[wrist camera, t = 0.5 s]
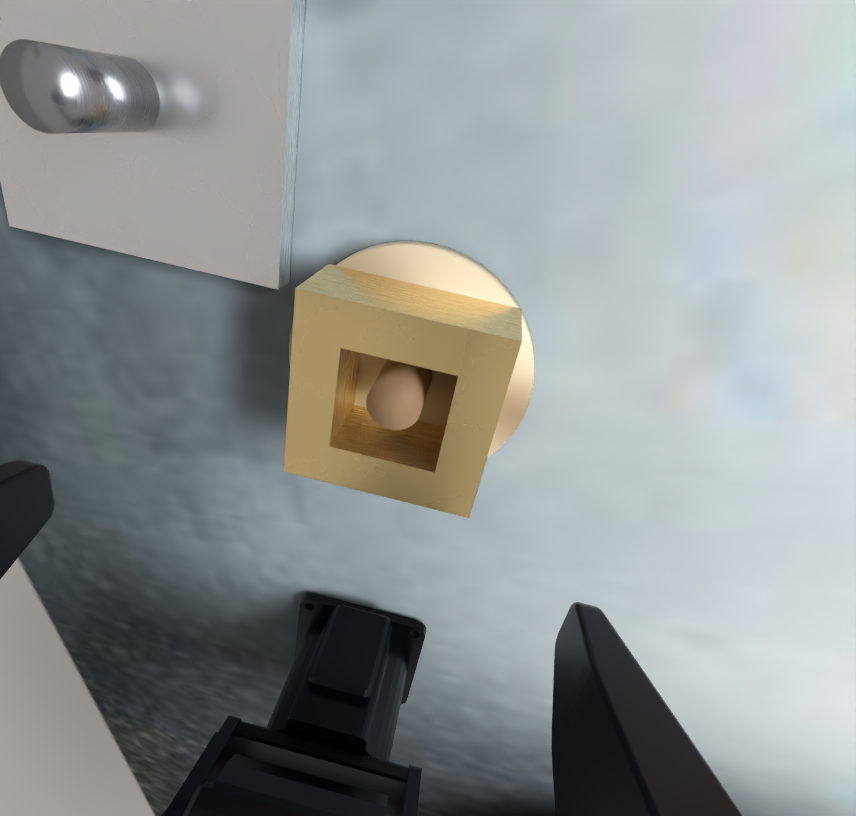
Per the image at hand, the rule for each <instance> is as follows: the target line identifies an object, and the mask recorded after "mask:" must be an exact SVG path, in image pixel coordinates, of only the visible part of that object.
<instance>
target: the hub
mask: <svg viewBox="0 0 856 816" xmlns="http://www.w3.org/2000/svg"><path fill="white" fill-rule="evenodd" d="M304 16H305V0H0V182H1V187H2V192H3V197H4V202H5V207H6V211H7V216H8V221H9V226H11V227H15V228H19V229H24V230H28V231H32V232H36V233H41V234H45V235H49V236H53V237H58V238H62V239H66V240H70V241H74V242H79V243H83V244H87V245H91V246H96V247H100V248H104V249H108V250H113V251H117V252H121V253H125V254H129V255H134V256H138V257H142V258H146V259H151V260H155V261H159V262H163V263H168V264H172V265H176V266H180V267H185V268H189V269H193V270H197V271H201V272H206V273H210V274H214V275H218V276H223V277H227V278H231V279H235V280H240V281H244V282H248V283H252V284H256V285H261V286H265V287H269V288H273V289H278V290H279V289H280V288H281V287H283V286H284V285H286V284H287V283H289V279H290V261H291V244H292V226H293V209H294V191H295V174H296V156H297V139H298V121H299V104H300V86H301V69H302V51H303V34H304Z"/></svg>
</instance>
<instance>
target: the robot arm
mask: <svg viewBox="0 0 856 816" xmlns="http://www.w3.org/2000/svg"><path fill="white" fill-rule="evenodd" d="M54 506H55V501H54V495H53V490H52V484H51V478H50V473H49V470H48V469H47V468H46V467H45V466H43V465H41V464H37V463H33V462H29V461H25V460H17V461H12V462H9V463H5V464H1V465H0V579H1V577H2V576H3V575H4V574H5V573H6V572H7V570H8V569H9V568H10V567H11V565H12V564H13V563H14V562H15V560H16V559H17V558H18V557H19V555H20V554H21V553H22V552H23V551H24V549H25V548H26V547H27V546H28V544H29V543H30V542H31V541H32V539H33V538H34V537H35V536H36V534H37V533H38V532H39V531H40V530H41V528H42V527H43V526H44V525H45V523H46V522H47V521H48V520H49V518H50V517H51V515H52V513H53V510H54ZM425 634H426V627H425V625H424V624H422V623H421V622H418V621H414V620H411V619H407V618H403V617H399V616H395V615H391V614H388V613H384V612H380V611H376V610H372V609H368V608H365V607H361V606H357V605H353V604H349V603H346V602H342V601H338V600H334V599H330V598H326V597H323V596H319V595H315V594H306V595H304V597H303V599H302V601H301V604H300V611H299V621H298V631H297V641H296V652H295V661H294V663H293V666H292V668H291V671H290V673H289V675H288V678H287V680H286V682H285V685H284V687H283V690H282V692H281V694H280V697H279V699H278V701H277V704H276V706H275V709H274V711H273V713H272V716H271V718H270V720H269V723H268V725H267V728H265V727H261V726H257V725H254V724H250V723H246V722H243V721H241V718H237V717H234V716H228V718H227V719H226V721H225V723H224V724H223V726H222V727H221V729H220V731H219V732H216V733H215V734H214V736H213V737H212V739H211V740H210V742H209V744H208V745H207V747H206V748H205V750H204V752H203V753H202V755H201V756H200V758H199V760H198V761H197V763H196V764H195V766H194V767H193V769H192V771H191V772H190V774H189V775H188V777H187V779H186V780H185V782H184V783H183V785H182V787H181V788H180V790H179V791H178V793H177V794H176V796H175V798H174V799H173V801H172V802H171V804H170V805H169V807H168V808H167V809H166V810H165V812H164V813H163V814H162V815H161V816H417V807H418V798H419V789H420V780H421V771H422V768H420V767H416V766H413V765H409V767H407V766H403V765H400V764H396V763H392V762H389V758H390V753H391V748H392V743H393V739H394V734H395V729H396V724H397V719H398V714H399V709H400V705H401V704H403V703H405V702H406V701H407V698H408V694H409V691H410V687H411V684H412V680H413V677H414V673H415V670H416V666H417V663H418V659H419V656H420V652H421V649H422V645H423V642H424V638H425ZM552 765H553V779H554V793H555V808H556V816H743V815H742V813H741V812H740V810H739V809H738V807H737V806H736V804H735V803H734V802H733V800H732V799H731V797H730V796H729V794H728V793H727V791H726V790H725V789H724V787H723V786H722V784H721V783H720V781H719V780H718V778H717V777H716V775H715V774H714V773H713V771H712V770H711V768H710V767H709V765H708V764H707V762H706V761H705V760H704V758H703V757H702V755H701V754H700V752H699V751H698V749H697V748H696V746H695V745H694V744H693V742H692V741H691V739H690V738H689V736H688V735H687V733H686V732H685V730H684V729H683V728H682V726H681V725H680V723H679V722H678V720H677V719H676V717H675V716H674V715H673V713H672V712H671V710H670V709H669V707H668V706H667V704H666V703H665V701H664V700H663V699H662V697H661V696H660V694H659V693H658V691H657V690H656V688H655V687H654V686H653V684H652V683H651V681H650V680H649V678H648V677H647V675H646V674H645V672H644V671H643V670H642V668H641V667H640V665H639V664H638V662H637V661H636V659H635V658H634V656H633V655H632V654H631V652H630V651H629V649H628V648H627V646H626V645H625V643H624V642H623V641H622V639H621V638H620V636H619V635H618V633H617V632H616V630H615V629H614V627H613V626H612V625H611V623H610V622H609V620H608V619H607V617H606V616H605V614H604V613H603V612H602V611H601V610H600V609H599V608H598V607H595V606H591V605H587V604H583V603H579V602H576V603H574V604H573V605H572V606H571V607H570V609H569V611H568V614H567V616H566V618H565V620H564V622H563V624H562V627H561V629H560V631H559V633H558V636H557V639H556V644H555V659H554V687H553V714H552Z"/></svg>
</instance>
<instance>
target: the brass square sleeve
mask: <svg viewBox="0 0 856 816" xmlns="http://www.w3.org/2000/svg"><path fill="white" fill-rule="evenodd" d="M521 343H522V309H521V308H516V307H512V306H508V305H503V304H499V303H495V302H490V301H486V300H482V299H478V298H473V297H469V296H465V295H460V294H456V293H452V292H448V291H443V290H439V289H435V288H430V287H426V286H422V285H418V284H413V283H409V282H405V281H400V280H396V279H392V278H387V277H383V276H379V275H375V274H370V273H366V272H362V271H357V270H353V269H349V268H345V267H340V266H336V265H332V264H328V265H326V266H325V267H324V268H322V269H321V270H319V271H318V272H317V273H315V274H314V275H313V276H311V277H310V278H308V279H307V280H306V281H304V282H303V283H302V284H300V285H299V286H297V287H296V288H295V301H294V317H293V333H292V349H291V364H290V380H289V396H288V412H287V427H286V443H285V459H284V472H288V473H292V474H296V475H300V476H304V477H308V478H312V479H316V480H320V481H324V482H328V483H332V484H336V485H340V486H344V487H348V488H352V489H356V490H360V491H364V492H368V493H372V494H376V495H380V496H384V497H388V498H392V499H396V500H400V501H404V502H408V503H412V504H416V505H420V506H424V507H428V508H431V509H435V510H439V511H443V512H447V513H451V514H455V515H459V516H463V517H467V518H469V517H470V513H471V510H472V507H473V503H474V500H475V496H476V493H477V490H478V486H479V483H480V480H481V476H482V473H483V470H484V466H485V463H486V460H487V456H488V453H489V450H490V446H491V443H492V440H493V436H494V433H495V430H496V426H497V423H498V420H499V416H500V413H501V410H502V406H503V403H504V400H505V396H506V393H507V390H508V386H509V383H510V380H511V376H512V373H513V369H514V366H515V363H516V359H517V356H518V353H519V349H520V346H521ZM361 353H364V354H368V355H372V356H377V357H381V358H385V359H389V360H393V361H397V362H402V363H406V364H410V365H414V366H418V367H422V368H427V369H431V370H435V371H439V372H443V373H447V374H452V375H456V376H458V379H457V383H456V387H455V392H454V396H453V400H452V404H451V408H450V412H449V416H448V420H447V425H446V427H444V426H440V425H436V424H432V423H428V422H424V421H420V420H417V421H416V422H415V423H414V424H413V425H412V426H410V427H408V428H406V429H402V430H391V429H387V428H384V427H382V426H380V425H379V424H377V423H376V422H375V421H374V420H373V419H372V418H371V416H370V415H369V413H368V410H367V408H366V407H362V406H358V405H354V403H355V395H356V388H357V381H358V373H359V366H360V359H361Z"/></svg>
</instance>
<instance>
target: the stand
mask: <svg viewBox="0 0 856 816" xmlns="http://www.w3.org/2000/svg"><path fill="white" fill-rule="evenodd" d="M336 266H340V267H345V268H349V269H353V270H357V271H362V272H366V273H370V274H375V275H379V276H383V277H387V278H392V279H396V280H400V281H405V282H409V283H413V284H418V285H422V286H426V287H430V288H435V289H439V290H443V291H448V292H452V293H456V294H460V295H465V296H469V297H473V298H478V299H482V300H486V301H490V302H495V303H499V304H503V305H508V306H512V307H516V308H520V307H519V305H518V303H517V301H516V300H515V298H514V297H513V296H512V294H511V293H510V291H509V290H508V289H507V287H506V286H505V285H504V284H503V283H502V282H501V281H500V280H499V279H498V278H497V277H496V276H495V275H494V274H493V273H492V272H490V271H489V270H488V269H487V268H486V267H484V266H483V265H482V264H480V263H478V262H477V261H475V260H474V259H472V258H470V257H469V256H467V255H465V254H462V253H460V252H458V251H456V250H454V249H451V248H448V247H444V246H441V245H438V244H433V243H427V242H421V241H395V242H387V243H382V244H378V245H374V246H370V247H367V248H365V249H363V250H360V251H358V252H356V253H354V254H352V255H350V256H349V257H347V258H345V259H344V260H342V261H340V262H339V263H338V264H336ZM292 333H293V325H292V328H291V333H290V341H289V363H290V364H291V349H292ZM457 379H458V376H456V375H452V374H447V373H443V372H439V371H435V370H431V369H427V368H422V367H418V366H414V365H410V364H406V363H402V362H397V361H393V360H389V359H385V358H381V357H377V356H372V355H368V354H364V353H361V359H360V366H359V373H358V381H357V388H356V395H355V403H354V405H358V406H362V407H366V408H367V410H368V413H369V415H370V416H371V418H372V419H373V420H374V421H375V422H376V423H377V424H379V425H380V426H382V427H384V428H387V429H391V430H402V429H406V428H408V427H410V426H412V425H413V424H414V423H415V422H416V421H417V420H420V421H424V422H428V423H432V424H436V425H440V426H444V427H446V425H447V420H448V416H449V412H450V408H451V404H452V400H453V396H454V392H455V387H456V383H457ZM533 381H534V358H533V345H532V340H531V335H530V331H529V328H528V325H527V322H526V319H525V317H524V315H523V313H522V343H521V346H520V349H519V353H518V356H517V359H516V363H515V366H514V369H513V373H512V376H511V380H510V383H509V386H508V390H507V393H506V396H505V400H504V403H503V406H502V410H501V413H500V416H499V420H498V423H497V426H496V430H495V433H494V436H493V440H492V443H491V446H490V450H489V453H488V456H489V455H491V454H492V453H494V452H495V451H496V450H498V449H499V448H500V447H501V446H502V445H503V444H504V443H505V442H506V441H507V440H508V439H509V438H510V436H511V435H512V434H513V433H514V431H515V430H516V429H517V427H518V425H519V424H520V422H521V420H522V419H523V417H524V415H525V412H526V410H527V407H528V405H529V402H530V398H531V394H532V390H533ZM488 456H487V457H488Z"/></svg>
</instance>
